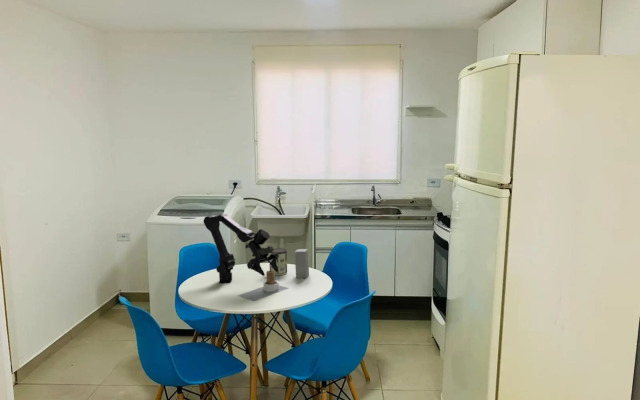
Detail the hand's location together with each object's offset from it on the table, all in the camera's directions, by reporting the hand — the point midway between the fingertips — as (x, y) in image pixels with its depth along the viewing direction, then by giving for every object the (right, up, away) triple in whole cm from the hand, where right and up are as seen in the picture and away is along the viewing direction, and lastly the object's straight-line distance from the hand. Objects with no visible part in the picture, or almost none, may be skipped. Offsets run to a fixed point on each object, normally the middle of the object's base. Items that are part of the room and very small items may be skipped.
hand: (270, 273), depth 233 cm
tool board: (-3, -10, -3) cm, 11 cm away
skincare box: (+16, -6, +27) cm, 32 cm away
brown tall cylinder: (0, -8, +1) cm, 9 cm away
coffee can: (+1, -5, +34) cm, 35 cm away
